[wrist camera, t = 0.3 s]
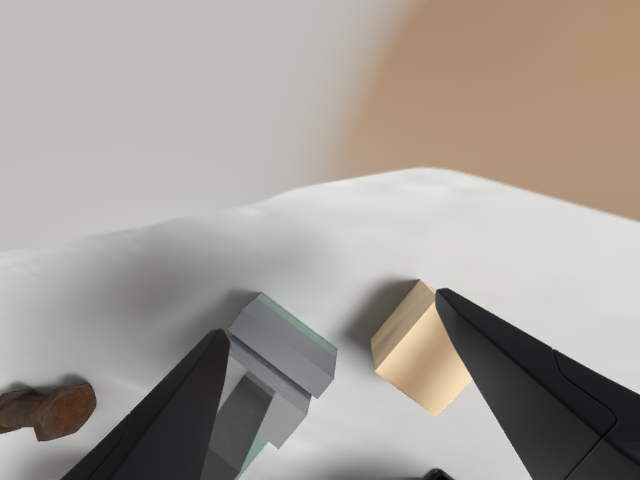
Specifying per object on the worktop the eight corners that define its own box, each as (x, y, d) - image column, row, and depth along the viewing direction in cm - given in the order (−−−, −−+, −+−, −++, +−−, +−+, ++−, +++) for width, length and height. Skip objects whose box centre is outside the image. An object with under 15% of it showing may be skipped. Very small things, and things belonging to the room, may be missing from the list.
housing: (471, 315, 22) (506, 344, 17) (418, 374, 23) (436, 417, 18) (419, 278, 22) (438, 297, 17) (370, 338, 24) (374, 371, 19)
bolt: (27, 385, 34) (105, 381, 31) (10, 427, 32) (92, 427, 29) (-37, 393, 29) (49, 389, 26) (-62, 445, 27) (29, 447, 24)
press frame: (337, 348, 24) (328, 420, 16) (224, 488, 28) (170, 604, 20) (262, 292, 25) (214, 332, 16) (162, 437, 29) (84, 529, 20)
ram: (315, 376, 23) (286, 499, 13) (292, 405, 23) (248, 542, 14) (244, 322, 23) (164, 400, 13) (224, 351, 24) (133, 447, 14)
